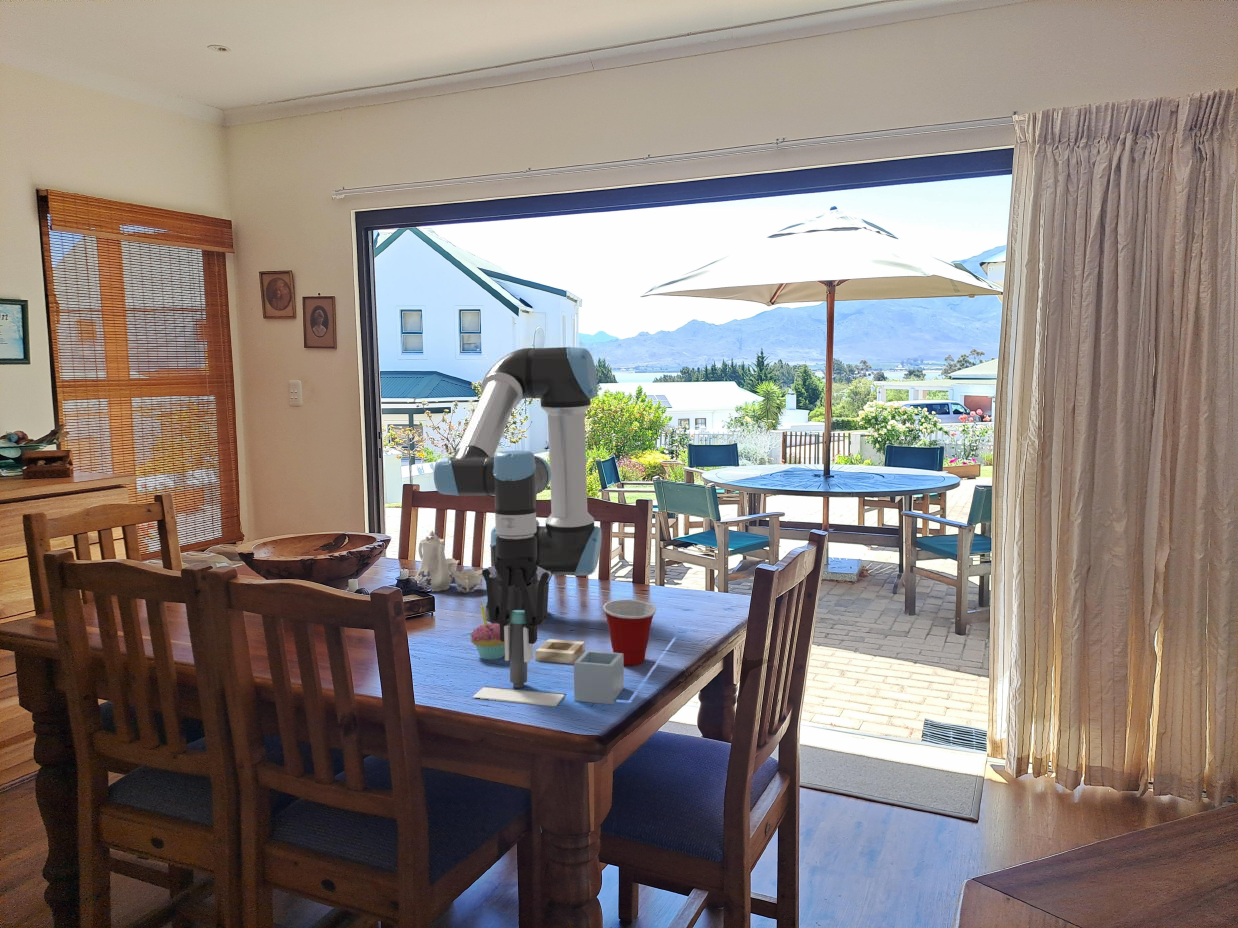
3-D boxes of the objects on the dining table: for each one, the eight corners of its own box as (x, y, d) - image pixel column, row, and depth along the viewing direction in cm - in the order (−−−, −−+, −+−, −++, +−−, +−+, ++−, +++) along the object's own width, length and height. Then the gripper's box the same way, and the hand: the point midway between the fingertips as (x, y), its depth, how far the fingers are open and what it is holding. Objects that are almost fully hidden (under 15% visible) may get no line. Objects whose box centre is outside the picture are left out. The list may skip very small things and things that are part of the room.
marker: (509, 688, 158) (511, 613, 158) (509, 684, 162) (510, 610, 162) (527, 688, 159) (529, 613, 159) (526, 683, 162) (528, 609, 162)
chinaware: (494, 597, 234) (497, 536, 233) (438, 601, 224) (441, 538, 223) (446, 579, 256) (450, 523, 255) (393, 582, 246) (397, 524, 245)
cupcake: (477, 666, 173) (475, 608, 172) (466, 654, 181) (465, 598, 180) (518, 660, 177) (516, 603, 175) (506, 648, 184) (505, 593, 183)
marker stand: (535, 662, 175) (535, 650, 175) (549, 650, 183) (548, 638, 182) (572, 665, 173) (572, 653, 173) (584, 653, 181) (584, 641, 180)
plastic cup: (632, 676, 166) (631, 616, 165) (592, 664, 173) (591, 606, 172) (668, 662, 174) (667, 604, 173) (628, 651, 181) (628, 596, 180)
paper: (472, 698, 156) (472, 696, 156) (503, 672, 169) (503, 670, 169) (555, 706, 152) (555, 704, 152) (580, 679, 165) (580, 677, 165)
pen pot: (574, 700, 154) (573, 662, 154) (586, 686, 161) (586, 650, 160) (612, 704, 152) (612, 665, 152) (623, 689, 159) (623, 653, 159)
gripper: (467, 537, 157) (470, 661, 159) (550, 540, 152) (552, 669, 155) (484, 529, 164) (487, 649, 166) (564, 533, 159) (566, 656, 162)
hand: (519, 658), depth 160 cm, fingers closed on marker, 3 cm apart
